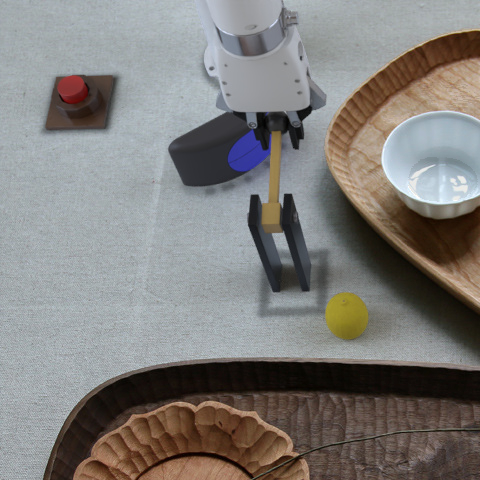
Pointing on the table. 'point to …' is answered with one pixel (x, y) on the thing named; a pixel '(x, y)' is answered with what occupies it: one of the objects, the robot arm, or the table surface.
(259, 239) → the bracket
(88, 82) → the button base
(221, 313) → the table surface
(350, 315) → the lemon
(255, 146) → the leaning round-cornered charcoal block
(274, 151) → the switch lever
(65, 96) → the button
